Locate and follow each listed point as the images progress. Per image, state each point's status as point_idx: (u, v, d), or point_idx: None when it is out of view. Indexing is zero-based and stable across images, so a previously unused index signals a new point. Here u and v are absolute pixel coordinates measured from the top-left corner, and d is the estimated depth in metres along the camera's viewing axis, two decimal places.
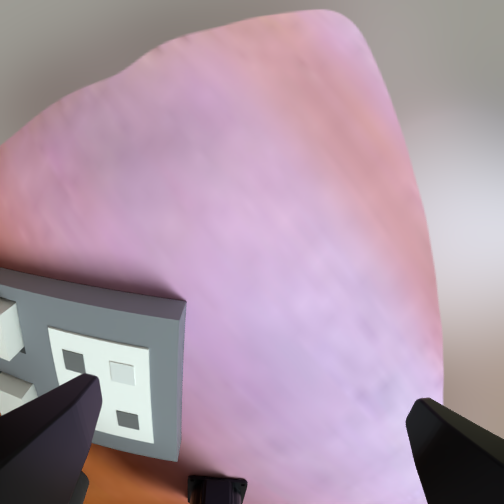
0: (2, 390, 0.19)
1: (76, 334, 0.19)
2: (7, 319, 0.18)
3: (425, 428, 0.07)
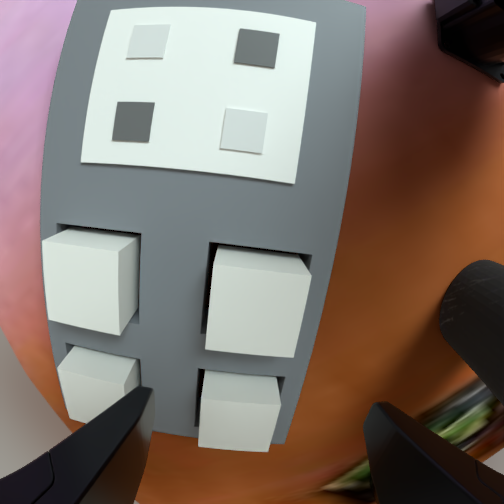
0: (208, 316, 0.13)
1: (87, 109, 0.12)
2: (64, 237, 0.13)
3: (380, 434, 0.07)
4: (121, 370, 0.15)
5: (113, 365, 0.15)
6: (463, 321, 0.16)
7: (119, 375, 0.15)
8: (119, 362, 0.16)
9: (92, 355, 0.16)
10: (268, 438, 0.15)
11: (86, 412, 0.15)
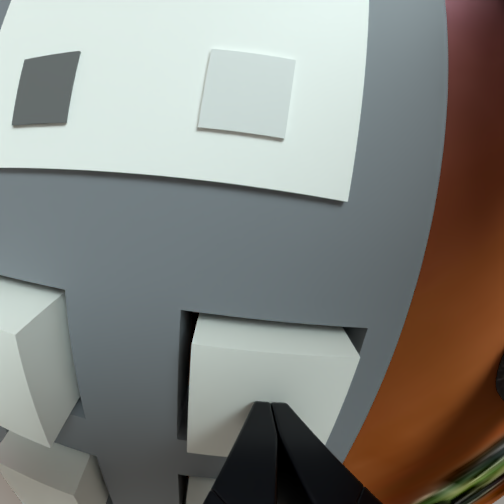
0: (188, 414, 0.08)
1: None
2: None
3: None
4: (71, 470, 0.08)
5: (61, 460, 0.09)
6: None
7: (68, 478, 0.08)
8: (69, 456, 0.09)
9: (35, 442, 0.09)
10: None
11: None
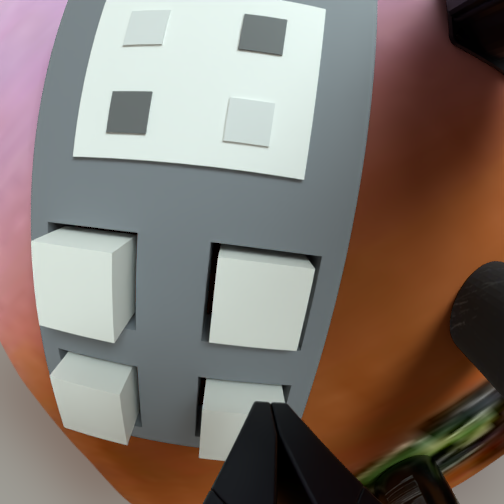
0: (212, 308, 0.14)
1: (80, 100, 0.11)
2: (55, 237, 0.12)
3: None
4: (117, 378, 0.14)
5: (109, 373, 0.14)
6: (475, 325, 0.15)
7: (115, 384, 0.14)
8: (115, 370, 0.15)
9: (86, 362, 0.15)
10: None
11: (80, 422, 0.14)
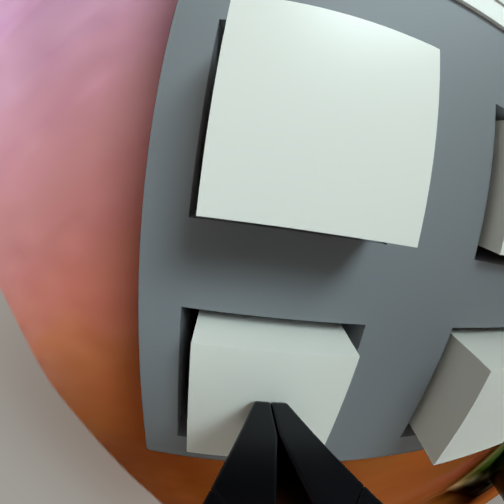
0: None
1: None
2: None
3: None
4: (330, 332, 0.08)
5: (308, 326, 0.08)
6: None
7: (335, 341, 0.08)
8: None
9: None
10: None
11: (235, 436, 0.08)
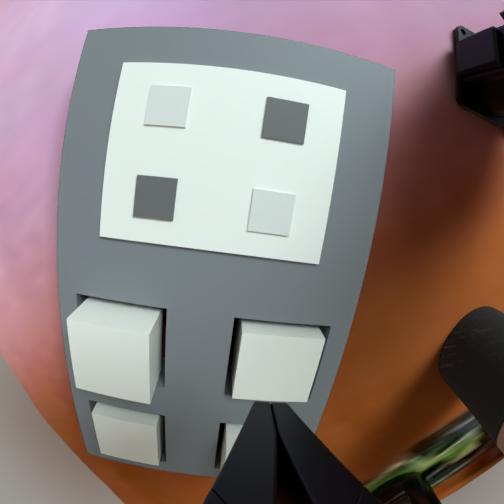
0: (236, 372, 0.15)
1: (103, 180, 0.13)
2: (88, 313, 0.13)
3: None
4: (151, 413, 0.17)
5: None
6: (462, 368, 0.17)
7: (150, 418, 0.16)
8: None
9: None
10: None
11: (117, 448, 0.16)
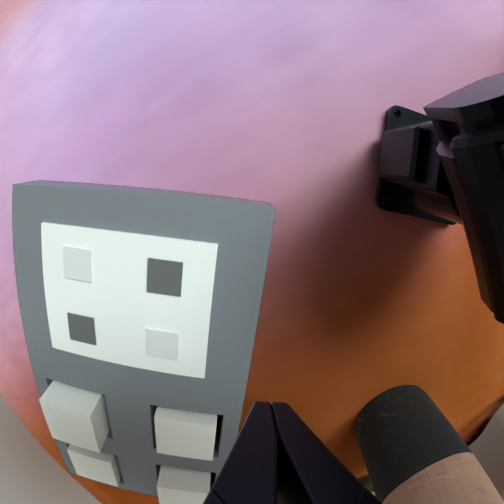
0: (156, 438, 0.18)
1: (47, 312, 0.16)
2: (53, 394, 0.17)
3: None
4: None
5: None
6: (364, 443, 0.20)
7: (107, 455, 0.20)
8: None
9: None
10: None
11: (88, 473, 0.20)
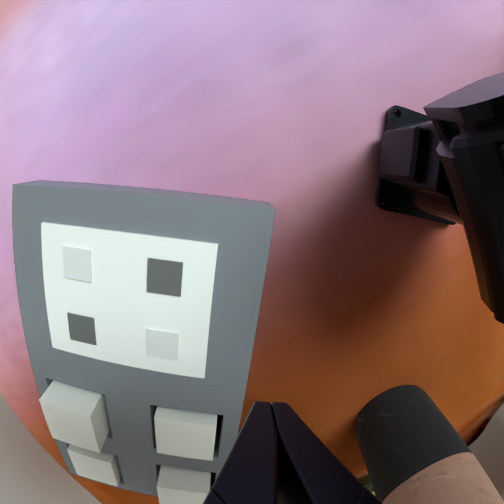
0: (156, 438, 0.18)
1: (47, 312, 0.16)
2: (53, 394, 0.17)
3: None
4: None
5: None
6: (364, 443, 0.20)
7: (107, 455, 0.20)
8: None
9: None
10: None
11: (88, 473, 0.20)
